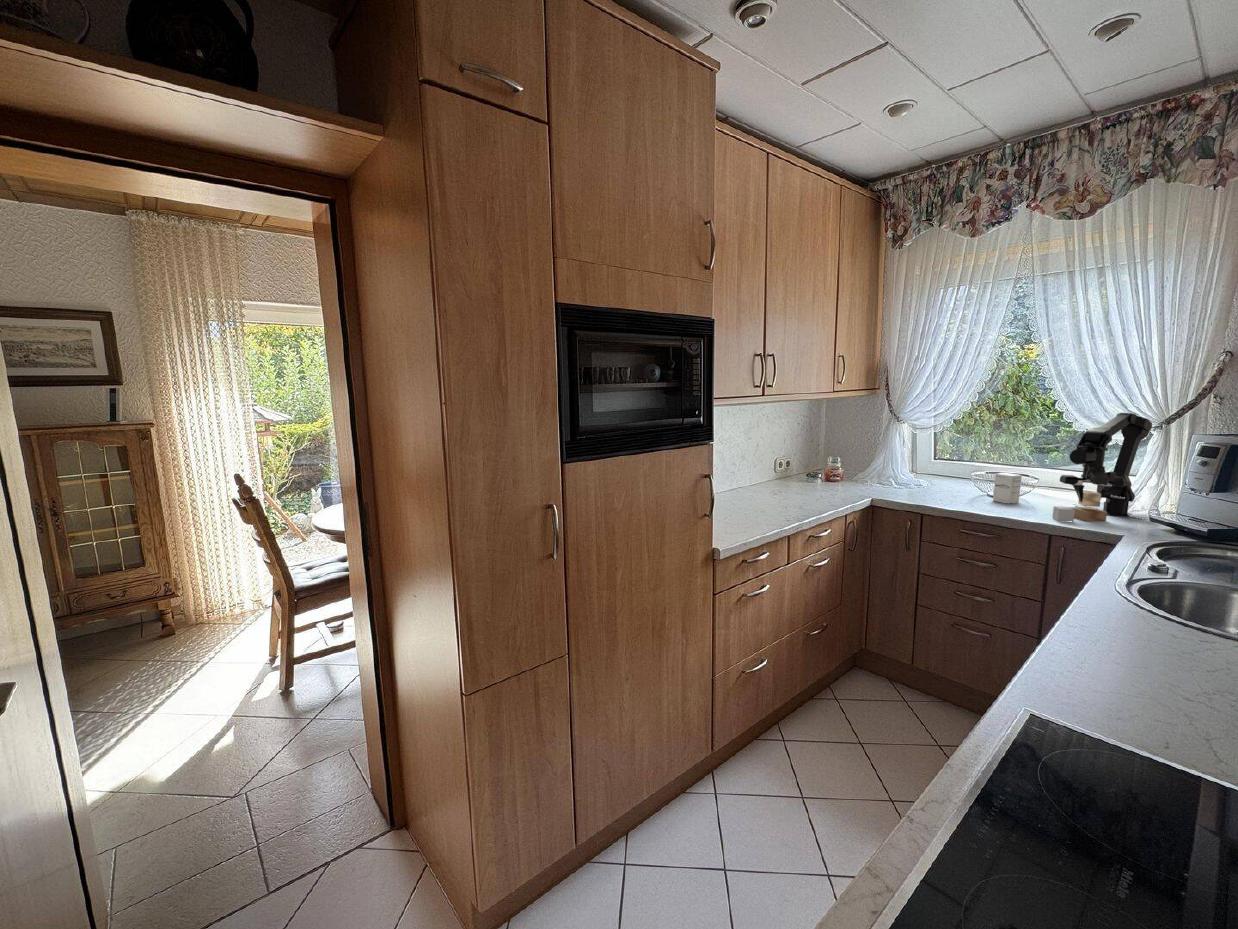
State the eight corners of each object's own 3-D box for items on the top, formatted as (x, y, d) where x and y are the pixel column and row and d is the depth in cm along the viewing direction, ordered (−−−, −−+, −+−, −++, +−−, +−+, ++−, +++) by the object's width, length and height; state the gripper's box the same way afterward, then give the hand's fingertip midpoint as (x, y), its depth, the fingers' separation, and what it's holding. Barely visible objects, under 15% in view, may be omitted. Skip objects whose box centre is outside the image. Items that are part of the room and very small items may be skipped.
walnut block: (1089, 516, 222) (1090, 507, 221) (1105, 522, 214) (1107, 511, 214) (1068, 517, 222) (1069, 507, 222) (1084, 522, 214) (1085, 511, 214)
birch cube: (1093, 504, 219) (1095, 491, 218) (1099, 506, 214) (1101, 494, 213) (1078, 503, 220) (1079, 490, 220) (1083, 506, 216) (1085, 493, 215)
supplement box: (992, 501, 251) (994, 473, 249) (1002, 499, 254) (1004, 472, 252) (1009, 504, 244) (1012, 475, 242) (1019, 502, 247) (1022, 474, 245)
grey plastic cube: (1067, 519, 217) (1069, 507, 217) (1073, 522, 213) (1074, 509, 212) (1052, 518, 219) (1053, 506, 218) (1057, 521, 214) (1058, 509, 214)
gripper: (1073, 464, 210) (1068, 505, 213) (1135, 466, 204) (1129, 508, 207) (1061, 460, 221) (1057, 499, 223) (1119, 462, 215) (1114, 502, 217)
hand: (1088, 502), depth 217 cm, fingers closed on birch cube, 5 cm apart
